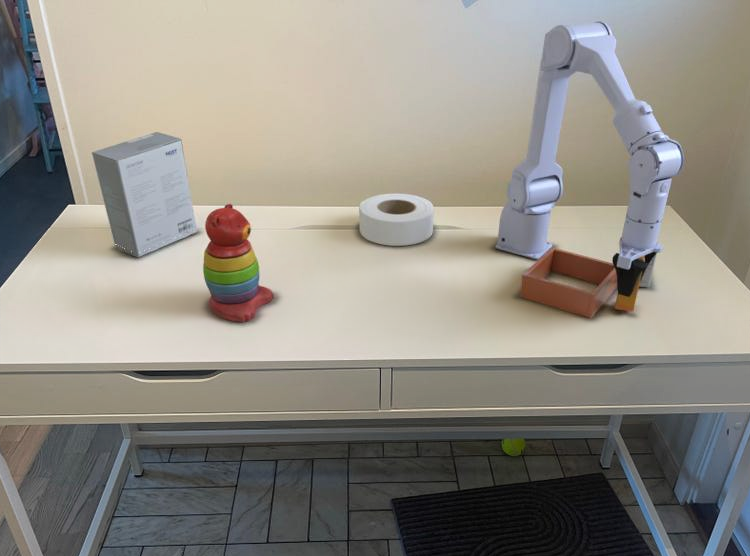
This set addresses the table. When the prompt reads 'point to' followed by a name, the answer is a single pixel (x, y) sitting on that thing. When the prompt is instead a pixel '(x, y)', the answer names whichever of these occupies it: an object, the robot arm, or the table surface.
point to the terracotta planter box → (567, 295)
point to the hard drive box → (146, 192)
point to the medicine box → (648, 274)
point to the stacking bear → (232, 267)
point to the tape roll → (396, 219)
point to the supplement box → (629, 302)
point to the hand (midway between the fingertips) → (627, 289)
